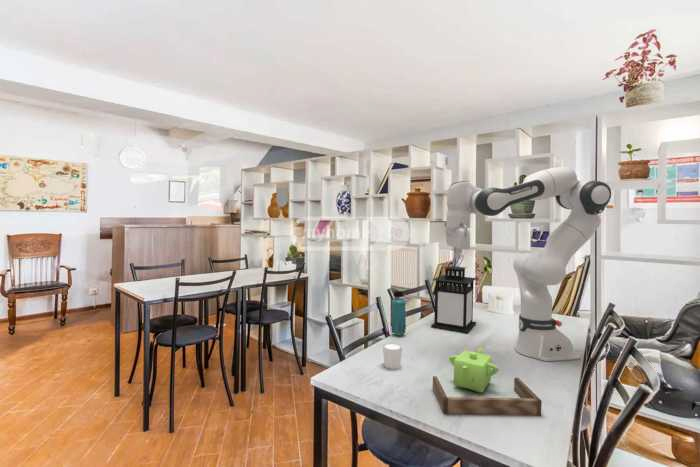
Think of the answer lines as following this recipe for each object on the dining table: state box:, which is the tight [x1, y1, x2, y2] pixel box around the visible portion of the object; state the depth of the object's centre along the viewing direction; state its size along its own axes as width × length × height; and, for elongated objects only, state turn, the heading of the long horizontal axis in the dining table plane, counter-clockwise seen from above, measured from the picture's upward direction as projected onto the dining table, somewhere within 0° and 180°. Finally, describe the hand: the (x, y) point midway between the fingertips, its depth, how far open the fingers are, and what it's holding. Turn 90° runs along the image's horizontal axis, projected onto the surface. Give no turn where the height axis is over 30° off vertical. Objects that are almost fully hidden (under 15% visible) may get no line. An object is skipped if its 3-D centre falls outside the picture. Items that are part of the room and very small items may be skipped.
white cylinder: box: [382, 343, 403, 370], centre depth 129 cm, size 7×7×7 cm
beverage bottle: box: [390, 290, 407, 335], centre depth 162 cm, size 6×7×20 cm
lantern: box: [430, 254, 478, 335], centre depth 176 cm, size 17×17×35 cm
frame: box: [432, 375, 543, 416], centre depth 105 cm, size 26×14×4 cm, turn 89°
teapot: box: [448, 347, 500, 394], centre depth 115 cm, size 15×13×11 cm
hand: (457, 259), depth 140 cm, fingers closed
